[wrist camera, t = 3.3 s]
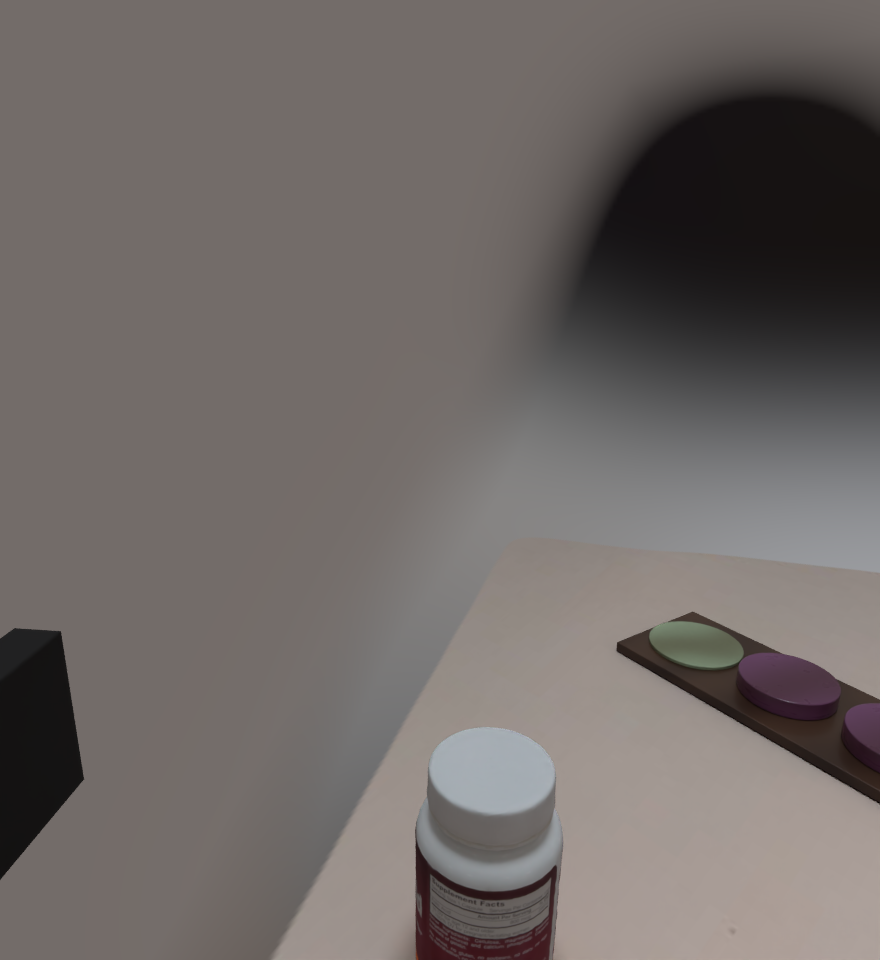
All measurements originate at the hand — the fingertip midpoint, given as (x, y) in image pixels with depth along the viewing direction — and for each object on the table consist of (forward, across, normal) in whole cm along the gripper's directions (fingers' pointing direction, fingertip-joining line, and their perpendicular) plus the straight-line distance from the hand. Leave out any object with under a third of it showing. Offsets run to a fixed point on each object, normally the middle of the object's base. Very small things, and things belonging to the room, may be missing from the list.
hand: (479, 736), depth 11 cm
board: (+28, +16, -17) cm, 36 cm away
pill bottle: (+10, 0, -17) cm, 20 cm away
